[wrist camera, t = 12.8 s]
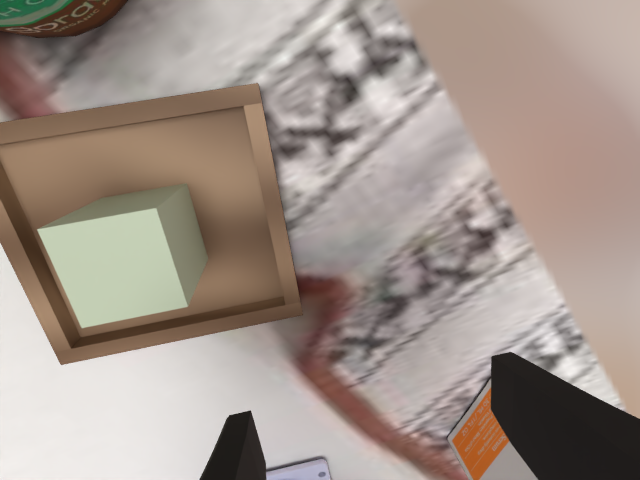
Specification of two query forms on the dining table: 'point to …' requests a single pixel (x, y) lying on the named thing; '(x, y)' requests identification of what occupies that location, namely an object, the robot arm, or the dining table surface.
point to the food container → (55, 16)
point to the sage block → (128, 254)
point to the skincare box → (486, 445)
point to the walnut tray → (145, 174)
